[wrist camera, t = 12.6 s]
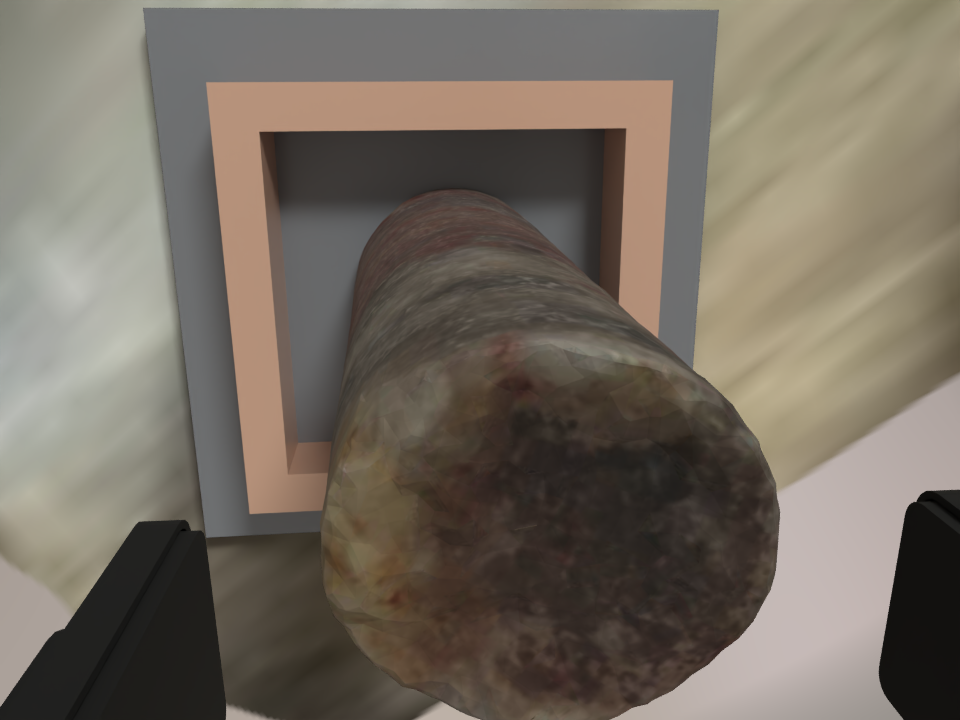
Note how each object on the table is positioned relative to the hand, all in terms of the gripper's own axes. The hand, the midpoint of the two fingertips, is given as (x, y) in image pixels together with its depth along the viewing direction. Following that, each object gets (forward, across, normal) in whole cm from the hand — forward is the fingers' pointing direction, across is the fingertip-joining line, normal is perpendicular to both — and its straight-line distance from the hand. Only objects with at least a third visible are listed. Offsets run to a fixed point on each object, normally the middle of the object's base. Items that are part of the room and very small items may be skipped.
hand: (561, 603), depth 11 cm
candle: (+21, 0, 0) cm, 21 cm away
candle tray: (+22, +1, 0) cm, 22 cm away
